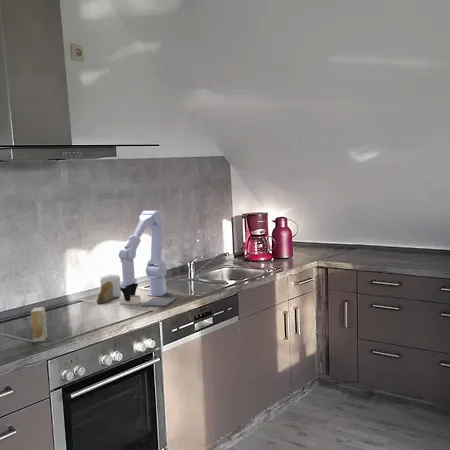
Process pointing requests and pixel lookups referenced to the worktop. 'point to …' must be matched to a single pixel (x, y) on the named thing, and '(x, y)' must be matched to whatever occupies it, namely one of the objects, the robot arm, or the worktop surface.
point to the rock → (105, 293)
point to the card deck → (130, 299)
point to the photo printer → (115, 281)
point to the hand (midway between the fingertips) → (130, 299)
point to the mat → (158, 302)
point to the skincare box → (39, 324)
